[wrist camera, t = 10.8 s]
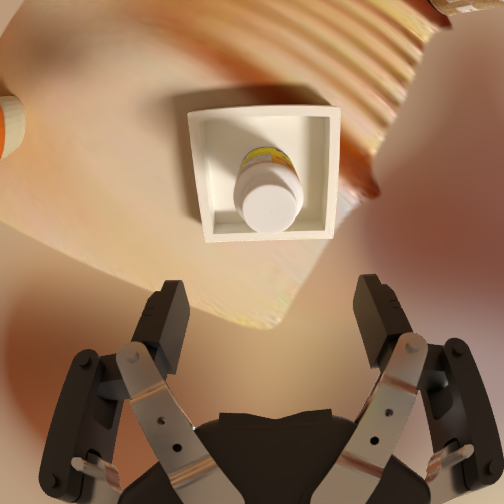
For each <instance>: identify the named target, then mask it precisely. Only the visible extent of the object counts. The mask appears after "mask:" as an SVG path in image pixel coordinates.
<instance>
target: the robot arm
mask: <svg viewBox="0 0 504 504" xmlns="http://www.w3.org/2000/svg"><path fill="white" fill-rule="evenodd" d="M353 310H354V314H355V317H356V320H357V323H358V327H359V329H360V333H361V336H362V339H363V343H364V346H365V350H366V353H367V356H368V360H369V363H370V367H371V368H379V369H380V372H381V373H380V374H379V376H378V378H377V381H376V382H375V384H374V386H373V388H372V390H371V392H370V394H369V396H368V398H367V400H366V402H365V404H364V406H363V407H362V409H361V411H360V412H359V414H358V415H357V417H356V419H355V420H354V422H352V421H350V420H348V419H346V418H343V417H339V416H334V415H332V411H331V409H325V410H315V411H305V412H301V413H298V414H294V415H291V416H287V417H284V418H281V419H270V418H265V417H260V416H256V415H251V414H246V413H220V415H219V419H217V420H213V421H209V422H207V423H205V424H202V425H201V426H199V427H197V428H194V426H193V424H192V423H191V422H190V420H189V419H188V417H187V416H186V414H185V413H184V412H183V410H182V408H181V406H180V405H179V403H178V401H177V400H176V398H175V396H174V395H173V393H172V391H171V390H170V388H169V386H168V384H167V382H166V378H167V374H176V370H177V366H178V362H179V357H180V353H181V348H182V345H183V340H184V336H185V332H186V328H187V324H188V320H189V315H190V307H189V302H188V299H187V295H186V292H185V288H184V284H183V282H182V280H166V281H165V282H164V284H163V287H162V289H161V291H155V292H154V293H153V294H152V295H151V297H149V298H148V300H147V303H146V305H145V309H144V310H143V312H142V316H141V318H140V320H139V322H138V325H137V327H136V330H135V332H134V335H133V337H132V340H131V342H129V343H126V344H124V345H123V346H122V347H121V348H120V349H119V350H118V352H117V353H116V354H111V355H105V356H100V357H99V355H98V354H97V353H96V352H95V351H94V350H91V349H86V350H83V351H81V352H79V353H78V354H77V355H76V356H75V357H74V359H73V361H72V364H71V366H70V369H69V371H68V374H67V377H66V380H65V382H64V385H63V388H62V391H61V393H60V397H59V399H58V403H57V405H56V409H55V412H54V415H53V419H52V422H51V425H50V429H49V432H48V436H47V440H46V444H45V448H44V452H43V457H42V461H41V466H40V472H39V483H40V486H41V488H42V490H43V491H44V492H45V493H46V494H47V495H48V496H51V497H53V498H56V499H59V500H62V501H64V502H66V503H69V504H442V503H445V502H447V501H449V500H451V499H454V498H456V497H459V496H462V495H465V494H468V493H471V492H474V491H476V490H479V489H482V488H484V487H487V486H489V485H492V484H494V483H495V482H496V481H498V479H499V478H500V477H501V475H502V473H503V470H504V457H503V452H502V447H501V442H500V438H499V433H498V430H497V426H496V422H495V418H494V415H493V412H492V408H491V405H490V402H489V399H488V395H487V393H486V390H485V387H484V384H483V381H482V379H481V376H480V373H479V371H478V368H477V366H476V363H475V361H474V359H473V356H472V354H471V351H470V349H469V347H468V345H467V344H466V343H465V342H464V341H463V340H461V339H458V338H451V339H449V340H447V342H446V343H445V345H444V346H442V345H434V344H428V343H427V342H426V340H425V339H424V338H423V337H422V336H420V335H419V334H417V333H413V330H412V328H411V326H410V324H409V322H408V319H407V317H406V315H405V313H404V311H403V309H402V308H401V305H400V303H399V301H398V299H397V297H396V295H395V293H394V291H393V290H392V289H391V288H390V287H389V286H388V285H387V284H381V282H380V280H379V278H378V276H377V275H376V274H365V275H360V276H359V278H358V283H357V287H356V291H355V295H354V299H353ZM418 390H420V391H421V395H422V399H423V403H424V407H425V412H426V416H427V420H428V425H429V430H430V435H431V440H432V446H433V452H434V454H433V456H432V457H431V458H430V460H429V462H428V467H427V470H426V471H427V476H426V478H425V480H424V479H423V478H422V477H420V476H419V475H418V474H417V473H415V472H414V471H413V470H411V469H410V468H409V467H407V466H406V465H405V464H404V463H403V462H401V461H400V460H399V459H398V458H397V457H395V456H394V455H393V454H392V452H393V450H394V448H395V446H396V444H397V442H398V440H399V438H400V436H401V434H402V431H403V429H404V427H405V425H406V422H407V420H408V418H409V415H410V413H411V410H412V408H413V405H414V403H415V400H416V397H417V394H418ZM130 398H131V399H130ZM124 399H130V404H131V407H132V409H133V411H134V414H135V415H136V418H137V420H138V422H139V424H140V426H141V428H142V430H143V432H144V434H145V436H146V438H147V440H148V442H149V444H150V446H151V447H152V449H153V451H154V453H155V455H156V457H157V458H158V460H159V461H158V462H157V463H156V464H155V465H153V466H152V467H151V468H150V469H149V470H147V471H146V472H145V473H144V474H143V475H142V476H140V477H139V478H138V479H137V480H135V481H134V482H133V483H132V484H130V485H129V486H128V487H127V488H125V489H124V490H122V488H121V486H120V482H119V480H120V479H119V473H118V471H117V469H116V468H115V467H114V465H112V459H113V453H114V447H115V442H116V436H117V431H118V426H119V421H120V416H121V412H122V407H123V403H124Z"/></svg>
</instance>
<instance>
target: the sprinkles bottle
mask: <svg viewBox="0 0 504 504" xmlns="http://www.w3.org/2000/svg"><path fill="white" fill-rule="evenodd" d="M430 2H431V4H432V5H433V6H434V7H435V8H436V10H438V11H439V12H440V13H442V14H445V15H447V16H452V15H454V14H457V13H462V12H470V11H476V10H482V9H488V8H493V7H503V6H504V0H430Z"/></svg>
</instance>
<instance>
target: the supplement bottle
mask: <svg viewBox="0 0 504 504" xmlns="http://www.w3.org/2000/svg"><path fill="white" fill-rule="evenodd" d="M303 198H304V195H303V188H302V184H301V182H300V180H299V178H298V175H297V173H296V171H295V168H294V166H293V164H292V162H291V160H290V158H289V157H288V156H287V155H286V154H285V153H284V152H283V151H281V150H280V149H278V148H275V147H270V146H263V147H258V148H256V149H254V150H252V151H250V152H249V153H248V154H247V155H246V156H245V157H244V159H243V160H242V162H241V165H240V169H239V172H238V176H237V179H236V183H235V187H234V192H233V200H234V205H235V208H236V210H237V212H238V214H239V215H240V216H241V218H242V219H244V220H245V222H246V223H247V225H248V226H249V227H250V228H252V229H253V230H254V231H256V232H259V233H262V234H277V233H280V232H282V231H284V230H286V229H287V228H288V227H289V226H290V225H291V224H292V223H293V222H294V220H295V218H296V216H297V215H298V213H299V212H300V210H301V207H302V204H303Z"/></svg>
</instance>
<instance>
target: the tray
mask: <svg viewBox="0 0 504 504" xmlns="http://www.w3.org/2000/svg"><path fill="white" fill-rule="evenodd" d="M187 117H188V126H189V134H190V142H191V150H192V158H193V165H194V173H195V180H196V187H197V194H198V200H199V207H200V213H201V219H202V226H203V232H204V238H205V243H206V242H232V241H261V240H292V239H327V238H333V235H334V225H335V214H336V202H337V188H338V172H339V150H340V107H337V106H332V105H307V104H273V105H249V106H234V107H223V108H213V109H204V110H196V111H192V112H189V113H187ZM263 146H270V147H275V148H278V149H280V150H281V151H283V152H284V153H285V154H286V155H287V156H288V157H289V158H290V160H291V162H292V164H293V166H294V168H295V171H296V173H297V175H298V178H299V180H300V182H301V184H302V188H303V195H304V198H303V204H302V207H301V210H300V212H299V213H298V215H297V216H296V218H295V220H294V222H293V223H292V224H291V225H290V226H289V227H288V228H287V229H286V230H284V231H282V232H280V233H277V234H262V233H259V232H256V231H254V230H253V229H252V228H250V227H249V226H248V225H247V223H246V222H245V220H244V219H242V218H241V216H240V215H239V214H238V212H237V210H236V208H235V205H234V200H233V192H234V187H235V183H236V179H237V176H238V172H239V169H240V165H241V162H242V160H243V159H244V157H245V156H246V155H247V154H248V153H249V152H250V151H252V150H254V149H256V148H258V147H263Z"/></svg>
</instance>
